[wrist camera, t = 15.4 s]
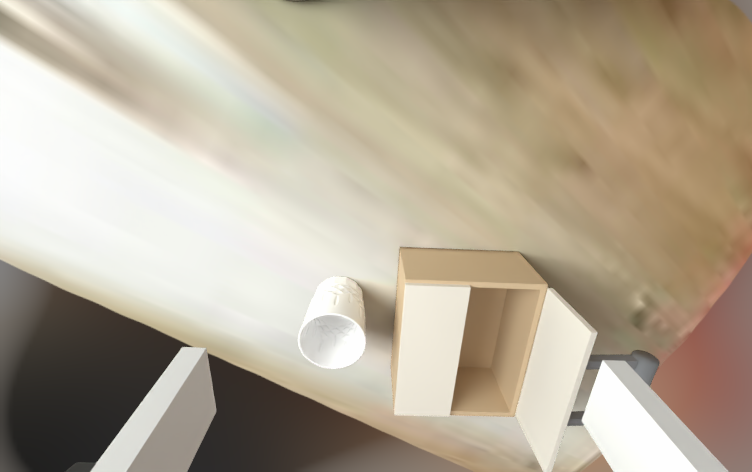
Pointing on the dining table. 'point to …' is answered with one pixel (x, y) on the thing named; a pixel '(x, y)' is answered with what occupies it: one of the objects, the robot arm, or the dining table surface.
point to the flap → (562, 376)
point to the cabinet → (463, 331)
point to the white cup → (334, 325)
